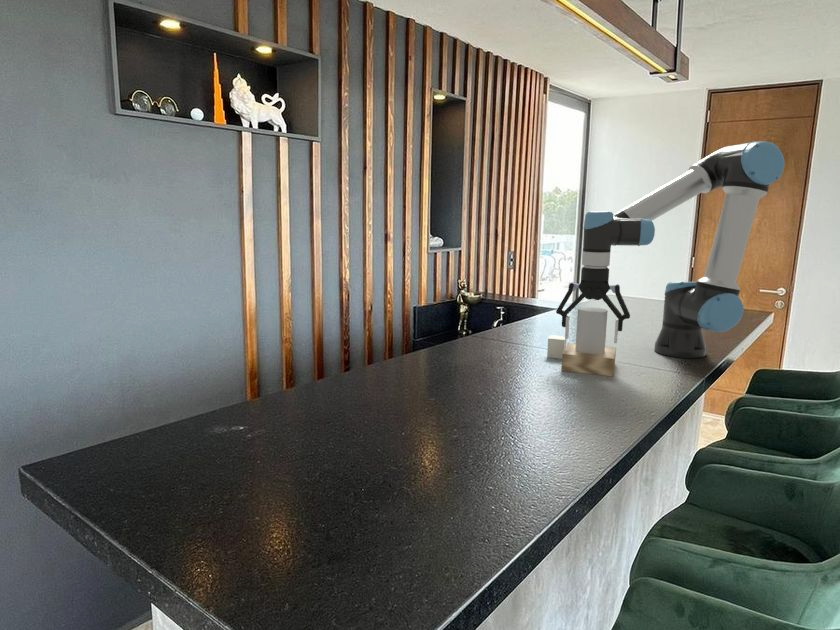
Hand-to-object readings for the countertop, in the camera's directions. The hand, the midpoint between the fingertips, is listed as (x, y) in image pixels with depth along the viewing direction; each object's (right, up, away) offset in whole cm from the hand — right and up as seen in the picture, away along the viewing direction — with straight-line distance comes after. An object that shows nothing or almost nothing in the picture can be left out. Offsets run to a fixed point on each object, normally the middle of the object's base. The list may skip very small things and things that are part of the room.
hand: (590, 340), depth 168 cm
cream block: (-7, -6, +14) cm, 16 cm away
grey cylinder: (0, -3, +1) cm, 3 cm away
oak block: (0, -8, +1) cm, 8 cm away
